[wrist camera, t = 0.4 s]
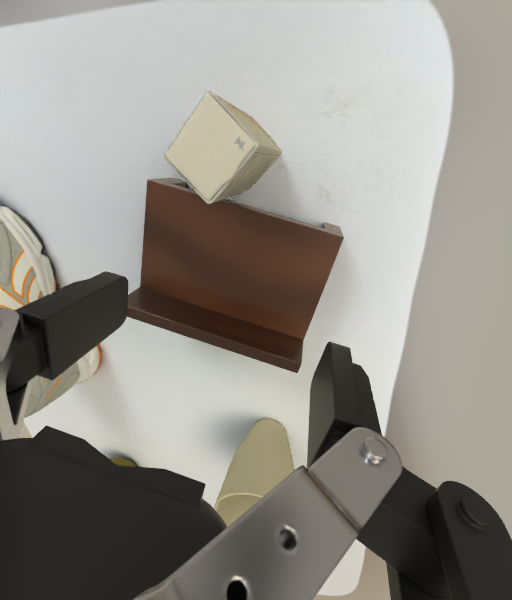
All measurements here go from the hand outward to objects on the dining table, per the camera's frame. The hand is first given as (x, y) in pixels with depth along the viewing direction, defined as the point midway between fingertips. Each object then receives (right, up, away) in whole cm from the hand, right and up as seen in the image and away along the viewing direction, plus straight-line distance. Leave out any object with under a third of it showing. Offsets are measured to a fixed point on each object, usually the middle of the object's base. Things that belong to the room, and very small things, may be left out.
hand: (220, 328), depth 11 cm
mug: (+4, -19, +31) cm, 37 cm away
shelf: (0, +6, +21) cm, 22 cm away
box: (+1, +15, +17) cm, 22 cm away
